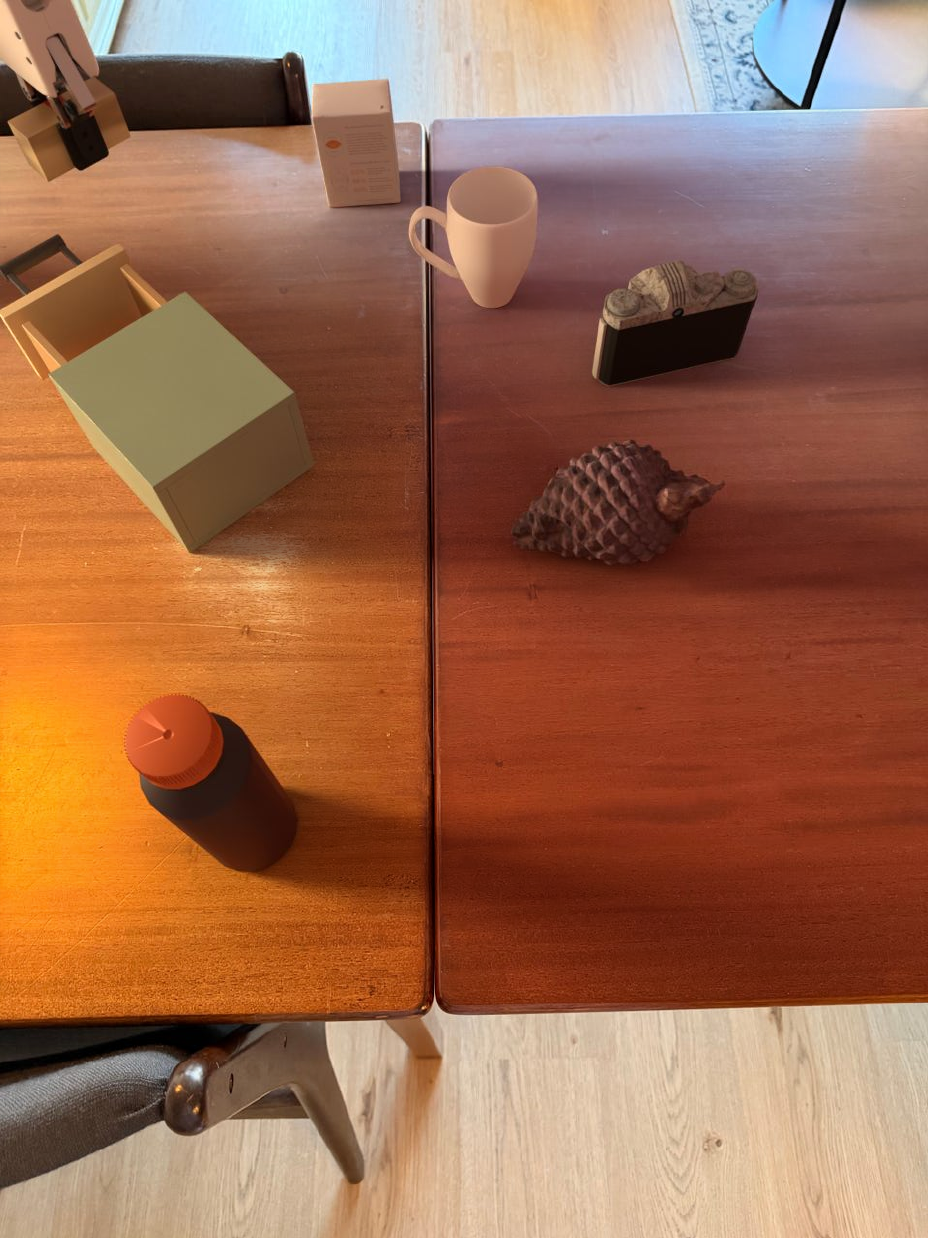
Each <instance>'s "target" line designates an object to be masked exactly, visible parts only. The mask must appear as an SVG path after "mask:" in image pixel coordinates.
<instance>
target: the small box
mask: <svg viewBox="0 0 928 1238" xmlns="http://www.w3.org/2000/svg"><path fill="white" fill-rule="evenodd" d="M311 92H312V93H311V94H312V95H311V123H312V127H313V133H314V138H315V142H316V148H317V153H318V159H319V164H320V170H321V174H322V179H323V184H324V190H325V194H326V200H327V205H328V207H329V208H342V207H358V206H369V205H382V204H384V205H385V204H398V203H401V181H400V166H399V165H400V164H399V158H398V157H399V156H398V147H397V139H396V129H395V122H394V121H395V120H394V112H393V103H392V95H391V86H390V81H389V78H381V79H380V78H379V79H366V80H354V81H353V80H352V81H340V82H339V81H338V82H327V83H326V82H325V83H313V84H312V91H311Z"/></svg>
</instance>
